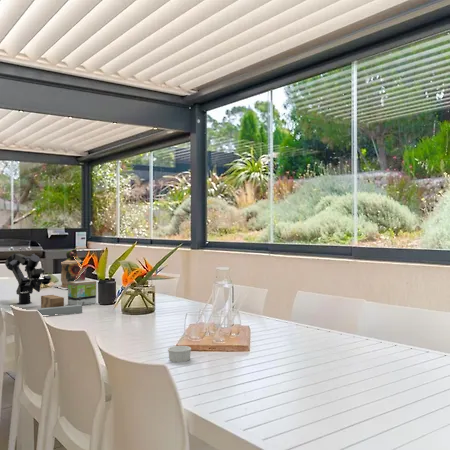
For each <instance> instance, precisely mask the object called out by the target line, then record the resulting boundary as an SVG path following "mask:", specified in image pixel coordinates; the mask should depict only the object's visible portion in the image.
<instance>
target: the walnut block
mask: <svg viewBox="0 0 450 450" xmlns="http://www.w3.org/2000/svg"><path fill="white" fill-rule="evenodd" d="M61 306H65V297H63V296H58V295H56V294H47V295H40V308H50V307H61Z"/></svg>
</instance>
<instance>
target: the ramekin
mask: <svg viewBox="0 0 450 450" xmlns="http://www.w3.org/2000/svg"><path fill="white" fill-rule="evenodd" d="M191 351H192V347H191V346H188V345H173V346H170V347H168V349H167V352H168V359H169V361H170V362H172V363H184V362H188V361H190V359H191Z"/></svg>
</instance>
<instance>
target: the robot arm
mask: <svg viewBox="0 0 450 450" xmlns="http://www.w3.org/2000/svg"><path fill="white" fill-rule="evenodd" d="M40 260H41V258H40V257H39V256H38V255H36V254H35V253H32V254H30V255H24V254H22V253H19V252H14V253H12V254H11V255H10V256H8V257H7V258H6V259H5V267H6V268H7V269H8V270H9V271H11V272H12V273H13V275H14V277H15V279H16V281H17V283H18V284H17V285H18V286H17V289H16V291H15V292H16V295H17V296H18V302H17V303H16V304H18V305H28V304H32V303H33V301H31V295H32V294H33V292H34V290H35V291H36V292H37V293H40V292H41V285H49V284H50V282H51V280H52V277H51V275H43V277H42V278H41V275H42V274H44V273H45V269H44V267H40V268H36V267H38V265H39V262H40ZM20 265H22V266H25V267H24V272H25V273H26V274H27V276H26V277H25V275H24V274H23V271H22V270H21V268H20Z"/></svg>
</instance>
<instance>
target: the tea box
mask: <svg viewBox="0 0 450 450" xmlns="http://www.w3.org/2000/svg"><path fill="white" fill-rule="evenodd" d="M96 303H97V281H96V280H90V279H89V280H88V279H85V280H83V281H73V282H68V289H67V305H68V306H71V305H82V306H84V305H85V306H86V305H90V304H91V305H93V304H96Z"/></svg>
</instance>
